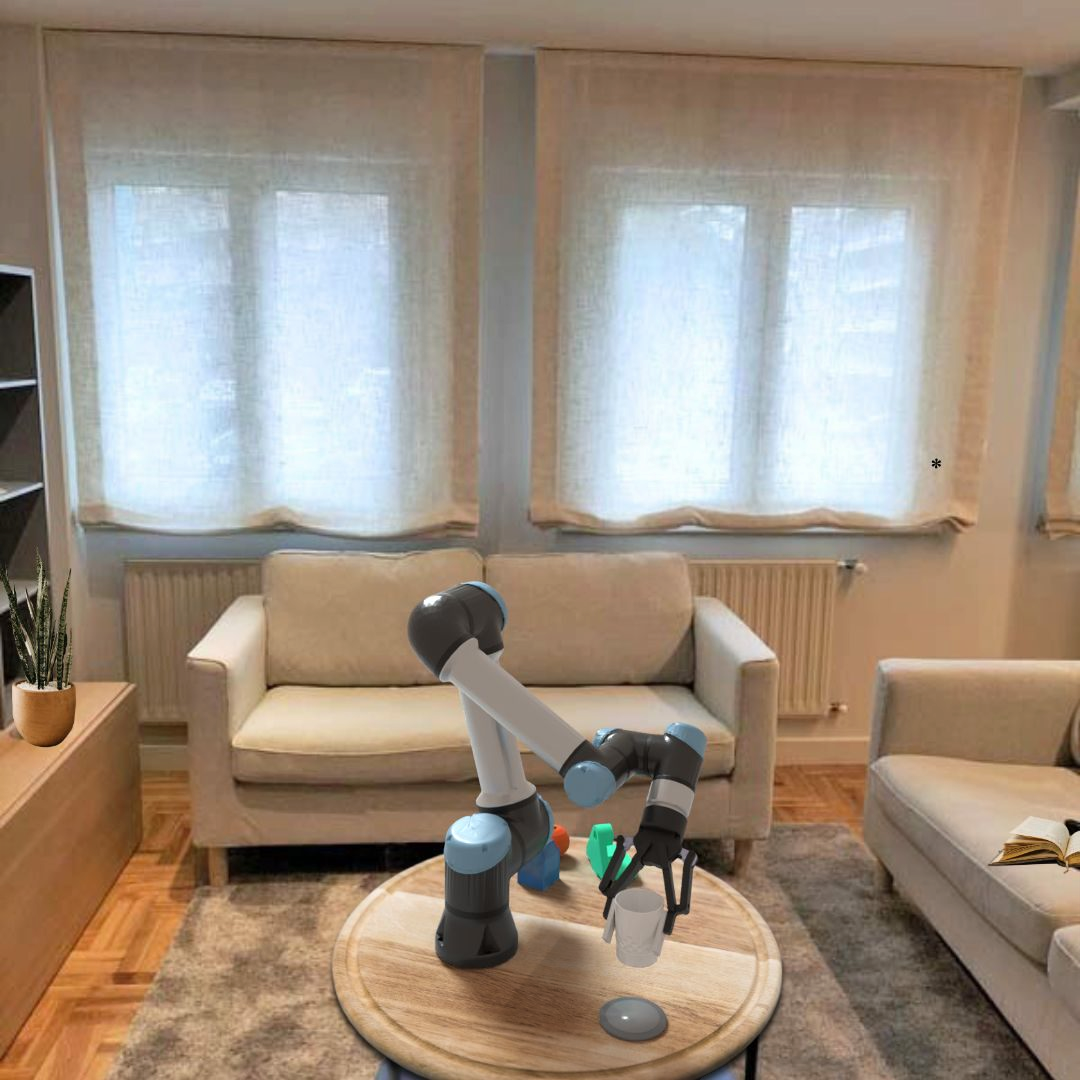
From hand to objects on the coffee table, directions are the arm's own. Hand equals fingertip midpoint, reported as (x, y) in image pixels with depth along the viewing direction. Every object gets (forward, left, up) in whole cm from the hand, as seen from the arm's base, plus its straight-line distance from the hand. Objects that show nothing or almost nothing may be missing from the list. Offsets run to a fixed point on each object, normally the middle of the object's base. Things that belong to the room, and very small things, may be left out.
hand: (630, 946), depth 180 cm
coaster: (0, +3, -15) cm, 16 cm away
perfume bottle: (-33, +38, -15) cm, 53 cm away
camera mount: (-22, +49, -16) cm, 56 cm away
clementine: (-35, +49, -15) cm, 63 cm away
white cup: (0, +4, -4) cm, 5 cm away
